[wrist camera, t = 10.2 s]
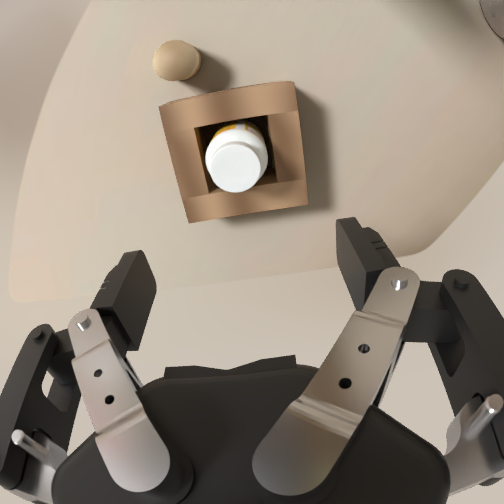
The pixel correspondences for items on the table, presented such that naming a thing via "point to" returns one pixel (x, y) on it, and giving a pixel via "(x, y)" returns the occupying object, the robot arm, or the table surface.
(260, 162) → the supplement bottle
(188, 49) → the short dowel
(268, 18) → the table surface
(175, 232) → the table surface
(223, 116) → the square wooden frame
